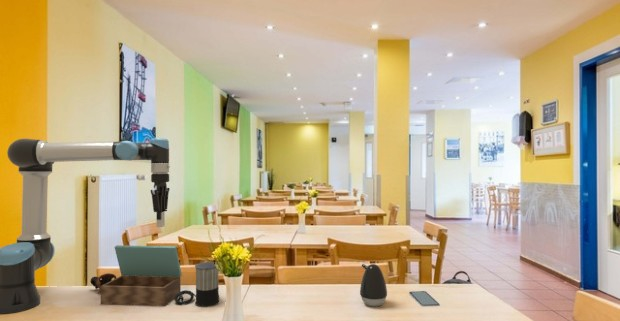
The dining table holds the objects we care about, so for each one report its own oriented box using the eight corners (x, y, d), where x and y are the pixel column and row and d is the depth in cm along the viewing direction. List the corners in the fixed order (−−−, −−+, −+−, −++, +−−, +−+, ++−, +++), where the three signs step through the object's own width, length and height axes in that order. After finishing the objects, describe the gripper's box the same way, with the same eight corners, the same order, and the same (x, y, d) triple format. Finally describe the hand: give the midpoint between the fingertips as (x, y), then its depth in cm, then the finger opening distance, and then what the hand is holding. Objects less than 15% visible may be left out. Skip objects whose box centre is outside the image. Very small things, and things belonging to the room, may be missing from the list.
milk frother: (222, 304, 152) (222, 265, 152) (180, 312, 144) (180, 272, 144) (211, 293, 164) (211, 258, 164) (172, 301, 156) (172, 263, 156)
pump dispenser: (370, 297, 158) (370, 259, 158) (392, 304, 151) (392, 264, 151) (354, 304, 151) (353, 264, 151) (376, 311, 144) (376, 269, 144)
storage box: (100, 304, 153) (100, 286, 153) (121, 292, 167) (121, 275, 167) (164, 306, 150) (164, 287, 150) (180, 293, 164) (180, 277, 164)
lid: (114, 247, 162) (116, 245, 164) (121, 275, 167) (123, 273, 169) (175, 247, 160) (176, 245, 161) (180, 277, 164) (181, 274, 166)
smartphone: (421, 305, 148) (408, 291, 163) (421, 308, 148) (408, 293, 163) (440, 304, 149) (425, 290, 164) (440, 307, 149) (425, 293, 164)
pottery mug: (122, 287, 176) (122, 273, 172) (111, 303, 167) (111, 289, 163) (95, 281, 175) (95, 267, 171) (82, 297, 167) (82, 282, 163)
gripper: (160, 173, 168) (161, 229, 167) (175, 172, 181) (175, 224, 181) (144, 173, 168) (144, 229, 168) (159, 172, 182) (160, 224, 182)
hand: (160, 226), depth 175 cm, fingers closed
